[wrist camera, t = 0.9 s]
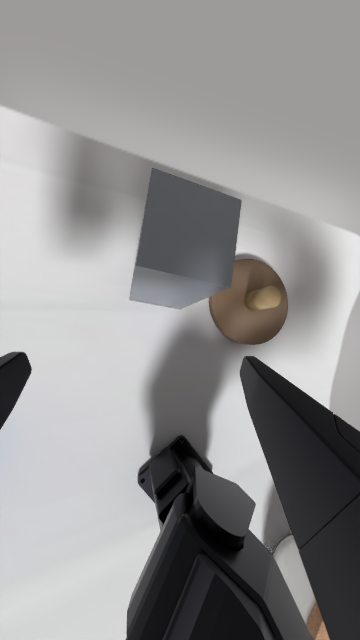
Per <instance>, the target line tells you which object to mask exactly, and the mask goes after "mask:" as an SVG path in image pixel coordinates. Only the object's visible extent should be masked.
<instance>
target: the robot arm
mask: <svg viewBox="0 0 360 640" xmlns="http://www.w3.org/2000/svg"><path fill="white" fill-rule="evenodd" d="M31 370H32V369H31V365H30V362H29V360H28V357H27V355H26V353H24V352H11V353H9V354H6V355H4V356H2V357H0V429H1V428H2V426H3V424H4V423H5V421H6V420H7V418H8V416H9V415H10V413H11V411H12V410H13V408H14V406H15V404H16V402H17V400H18V398H19V396H20V394H21V392H22V390H23V388H24V386H25V384H26V382H27V380H28V378H29V376H30V374H31ZM240 377H241V382H242V386H243V390H244V394H245V399H246V403H247V407H248V410H249V413H250V416H251V419H252V422H253V424H254V427H255V430H256V433H257V436H258V439H259V441H260V444H261V447H262V450H263V453H264V455H265V458H266V461H267V464H268V467H269V469H270V472H271V475H272V478H273V481H274V484H275V486H276V489H277V492H278V495H279V498H280V500H281V503H282V506H283V509H284V512H285V514H286V517H287V520H288V523H289V526H290V529H291V531H292V534H293V537H294V540H295V543H296V545H297V548H298V549H299V554H300V557H301V560H302V563H303V566H304V568H305V571H306V574H307V577H308V580H309V582H310V585H311V588H312V591H313V594H314V597H315V599H316V602H317V605H318V608H319V611H320V613H321V616H322V619H323V622H324V625H325V627H326V630H327V633H328V636H329V639H330V640H360V431H358V430H356V429H355V428H354V427H352V426H351V425H349V424H348V423H346V422H345V421H344V420H342V419H341V418H340V417H338V416H336V415H335V414H334V415H333V412H331V411H330V410H328V409H327V408H326V407H324V406H323V405H321V404H320V403H319V402H317V401H316V400H314V399H313V398H312V397H310V396H309V395H307V394H306V393H305V392H303V391H302V390H300V389H299V388H298V387H296V386H295V385H293V384H292V383H291V382H289V381H288V380H286V379H285V378H284V377H282V376H281V375H280V374H278V373H277V372H275V371H274V370H273V369H271V368H270V367H268V366H267V365H266V364H264V363H263V362H261V361H260V360H259V359H257V358H256V357H254V356H245V357H244V358H243V362H242V365H241V369H240ZM182 439H183V442H180V440H182ZM142 478H144V480H143V481H141V479H142ZM138 484H139V485H140V487H141V488H142V489H143V490H144V491H145V492H146V494H147V495H148V496H149V497H150V498H151V499H152V500H153V502H154V503H155V504H156V510H157V515H158V520H159V525H160V531H161V532H160V534H159V536H158V538H157V540H156V543H155V545H154V547H153V549H152V551H151V554H150V556H149V558H148V560H147V562H146V565H145V567H144V569H143V571H142V573H141V576H140V578H139V580H138V582H137V584H136V587H135V589H134V591H133V593H132V596H131V599H130V603H129V607H128V610H127V638H126V640H314V639H313V637H312V636H311V634H310V632H309V630H308V628H307V626H306V624H305V622H304V619H303V617H302V615H301V613H300V611H299V609H298V607H297V605H296V603H295V600H294V598H293V596H292V594H291V592H290V590H289V588H288V586H287V584H286V582H285V579H284V577H283V575H282V573H281V571H280V569H279V567H278V565H277V563H276V560H275V558H274V557H273V555H272V553H271V552H270V551H269V550H268V549H267V548H266V547H265V546H264V545H263V544H262V543H261V542H260V541H259V540H258V539H257V537H256V536H255V535H254V534H253V533H252V532H251V531H250V530H249V529H248V528H249V525H250V522H251V518H252V515H253V512H254V508H255V505H256V504H255V502H254V501H253V500H252V499H251V498H250V497H249V496H248V495H247V494H246V493H245V492H244V491H243V490H242V489H241V488H240V487H239V486H238V485H237V484H236V483H234V482H231V481H229V480H227V479H224V478H222V477H219V476H217V475H215V474H213V472H212V471H211V470H210V468H209V467H208V466H207V465H206V463H205V462H204V461H203V460H202V458H201V457H200V456H199V455H198V453H197V452H196V451H195V449H194V448H193V447H192V446H191V444H190V443H189V442H188V441H187V439H186V438H185V437H184V436H182V435H181V436H179V437H178V438H177V439H176V440H175V441H174V442H173V443H172V444H171V445H170V446H169V447H166V448H165V449H164V450H163V451H162V452H161V453H160V454H159V455H158V456H157V457H156V458H155V459H154V460H153V461H152V462H151V463H150V464H149V466H148V467H147V468H146V469H145V470H144V471H143V472H142V473H141V474H140V475H139V476H138Z"/></svg>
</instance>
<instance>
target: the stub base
mask: <svg viewBox="0 0 360 640" xmlns="http://www.w3.org/2000/svg"><path fill="white" fill-rule="evenodd" d="M209 307H210V312H211V316H212V318H213V321H214V323H215V324H216V326H217V328H218V329H219V330H220V331H221V332H222V333H223V334H224V335H225V336H226V337H227V338H229V339H231V340H232V341H235V342H237V343H241V344H250V345H256V344H261V343H265V342H267V341H269V340H270V339H272V338H273V337H274V336H276V334H277V333H278V332H279V331H280V330H281V328H282V326H283V324H284V322H285V319H286V316H287V310H288V300H287V294H286V290H285V287H284V285H283V282H282V281H281V279H280V277H279V276H278V275H277V273H276V272H275V271H274V270H273V269H272V268H271V267H269V266H268V265H266V264H265V263H263V262H260V261H257V260H253V259H242V260H238V261H236V262H234V268H233V277H232V285H231V288H229V289H226V290H224V291H222V292H219V293H217V294H215V295H212V296H210V297H209Z"/></svg>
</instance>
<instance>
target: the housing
mask: <svg viewBox="0 0 360 640" xmlns="http://www.w3.org/2000/svg"><path fill="white" fill-rule="evenodd" d="M240 208H241V200H240V199H237V198H234V197H232V196H229V195H226V194H223V193H221V192H218V191H215V190H212V189H209V188H207V187H204V186H201V185H198V184H196V183H193V182H190V181H187V180H185V179H182V178H179V177H176V176H173V175H171V174H168V173H165V172H162V171H160V170H157V169H154V168H152V172H151V178H150V183H149V189H148V194H147V200H146V206H145V211H144V217H143V223H142V228H141V234H140V240H139V245H138V251H137V257H136V263H135V269H134V275H133V281H132V287H131V292H130V298H129V300H133V301H138V302H144V303H149V304H154V305H160V306H165V307H171V308H176V309H182V308H184V307H186V306H189V305H191V304H193V303H196V302H198V301H200V300H203V299H205V298H208V297H210V296H212V295H215V294H217V293H219V292H222V291H224V290H226V289H229V288H231V285H232V277H233V268H234V260H235V251H236V242H237V234H238V225H239V217H240Z"/></svg>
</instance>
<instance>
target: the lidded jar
mask: <svg viewBox="0 0 360 640" xmlns="http://www.w3.org/2000/svg"><path fill="white" fill-rule="evenodd" d="M273 557H274V558H275V560H276V563H277V565H278V567H279V569H280V571H281V573H282V575H283V577H284V579H285V582H286V584H287V586H288V588H289V590H290V592H291V594H292V596H293V598H294V600H295V603H296V605H297V607H298V609H299V611H300V613H301V615H302V617H303V619H304V622H305V624H306V626H307V628H308V630H309V632H310V634H311V636H312V637H313V639H314V640H330V639H329V636H328V633H327V630H326V627H325V625H324V622H323V619H322V616H321V613H320V611H319V608H318V605H317V602H316V599H315V597H314V594H313V591H312V588H311V585H310V582H309V580H308V577H307V574H306V571H305V568H304V566H303V563H302V560H301V557H300V554H299V549H298V548H297V545H296V543H295V540H294V537H293V535H289V536H287V537H285V538H284V539H283V540H282V541H281V542H280V543H279V544H278V546H277V547H276V549H275V551H274V553H273Z"/></svg>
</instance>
